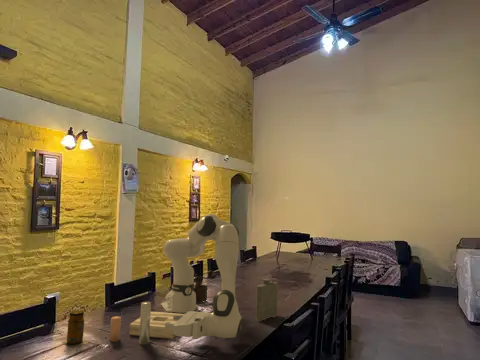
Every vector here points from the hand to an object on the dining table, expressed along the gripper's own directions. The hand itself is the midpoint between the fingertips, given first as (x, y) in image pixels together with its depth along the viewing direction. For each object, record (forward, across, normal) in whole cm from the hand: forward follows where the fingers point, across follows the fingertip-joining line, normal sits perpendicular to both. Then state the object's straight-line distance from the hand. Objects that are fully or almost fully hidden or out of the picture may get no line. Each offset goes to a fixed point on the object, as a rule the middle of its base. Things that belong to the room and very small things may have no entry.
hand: (169, 321), depth 146 cm
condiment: (+38, +7, +10) cm, 39 cm away
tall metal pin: (+11, 0, +10) cm, 14 cm away
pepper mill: (+7, -70, +10) cm, 72 cm away
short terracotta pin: (+24, 0, +10) cm, 26 cm away
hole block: (+11, -17, +10) cm, 22 cm away
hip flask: (-36, -46, +10) cm, 59 cm away
